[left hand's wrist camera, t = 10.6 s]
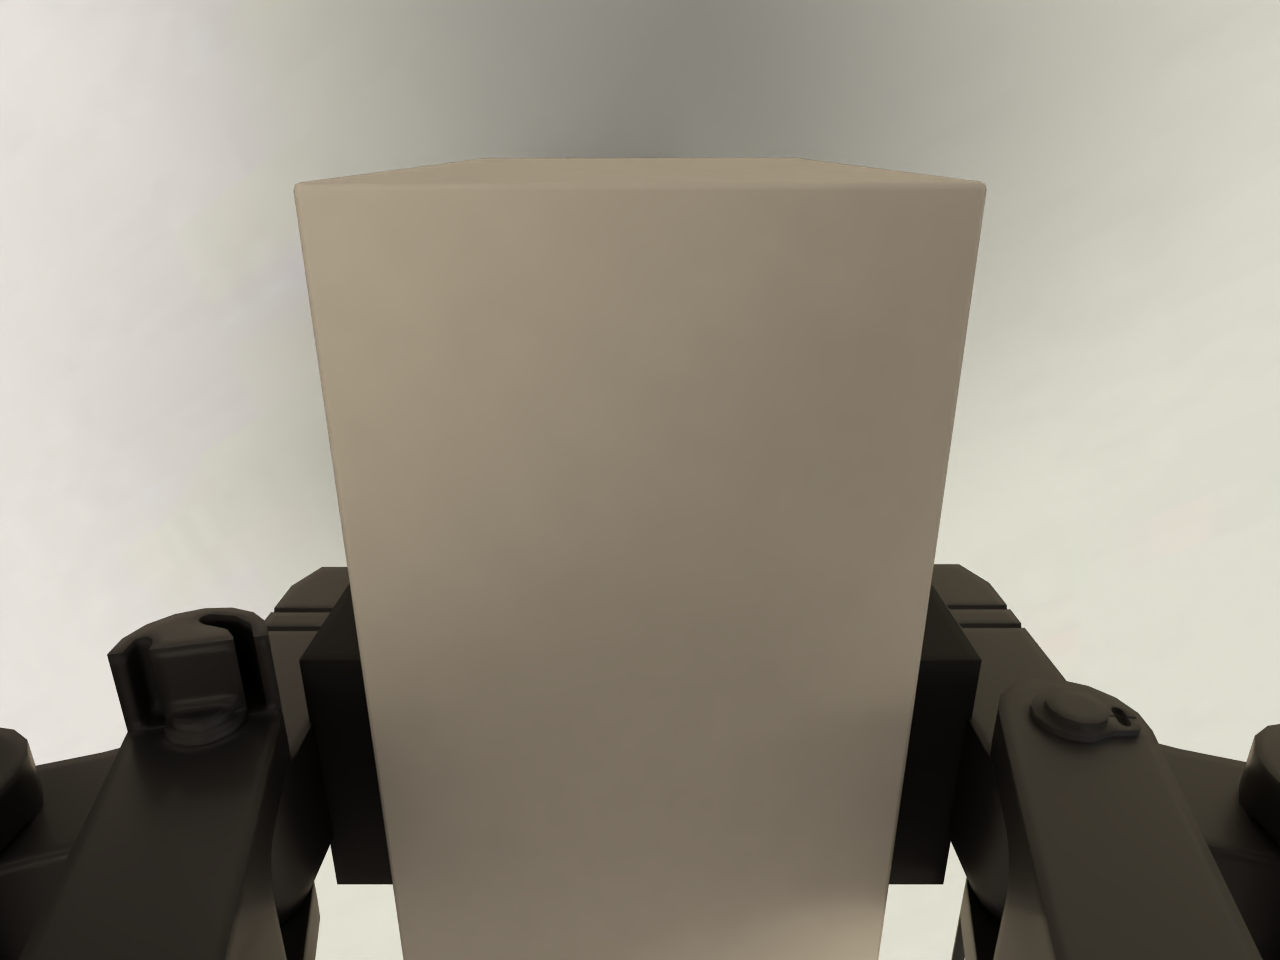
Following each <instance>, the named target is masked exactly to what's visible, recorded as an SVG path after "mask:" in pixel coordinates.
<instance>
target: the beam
mask: <svg viewBox="0 0 1280 960" xmlns="http://www.w3.org/2000/svg"><path fill="white" fill-rule="evenodd" d="M294 196H295V203H296V210H297V217H298V224H299V231H300V238H301V245H302V252H303V259H304V266H305V273H306V280H307V287H308V294H309V301H310V308H311V315H312V322H313V329H314V336H315V343H316V350H317V357H318V364H319V371H320V378H321V385H322V392H323V399H324V406H325V413H326V420H327V427H328V434H329V441H330V448H331V455H332V462H333V469H334V476H335V483H336V490H337V497H338V504H339V511H340V518H341V525H342V532H343V539H344V546H345V553H346V560H347V567H348V574H349V581H350V588H351V595H352V602H353V609H354V616H355V623H356V630H357V637H358V644H359V651H360V658H361V665H362V672H363V679H364V686H365V693H366V700H367V707H368V714H369V721H370V728H371V735H372V742H373V749H374V756H375V763H376V770H377V777H378V784H379V791H380V798H381V805H382V812H383V819H384V826H385V833H386V840H387V847H388V854H389V861H390V868H391V875H392V882H393V889H394V896H395V903H396V910H397V917H398V924H399V931H400V938H401V945H402V952H403V959H404V960H878V957H879V950H880V943H881V936H882V929H883V922H884V915H885V907H886V900H887V893H888V886H889V879H890V872H891V865H892V858H893V851H894V843H895V836H896V829H897V822H898V815H899V808H900V801H901V794H902V787H903V779H904V772H905V765H906V758H907V751H908V744H909V737H910V730H911V723H912V715H913V708H914V701H915V694H916V687H917V680H918V673H919V666H920V659H921V651H922V644H923V637H924V630H925V623H926V616H927V609H928V602H929V595H930V587H931V580H932V573H933V566H934V559H935V552H936V545H937V538H938V531H939V523H940V516H941V509H942V502H943V495H944V488H945V481H946V474H947V467H948V460H949V452H950V445H951V438H952V431H953V424H954V417H955V410H956V403H957V396H958V388H959V381H960V374H961V367H962V360H963V353H964V346H965V339H966V332H967V324H968V317H969V310H970V303H971V296H972V289H973V282H974V275H975V268H976V260H977V253H978V246H979V239H980V232H981V225H982V218H983V211H984V204H985V196H986V185H985V184H984V183H982V182H979V181H971V180H963V179H955V178H947V177H940V176H932V175H924V174H916V173H909V172H901V171H893V170H885V169H877V168H870V167H862V166H854V165H846V164H838V163H831V162H823V161H815V160H807V159H800V158H483V159H475V160H468V161H460V162H453V163H445V164H437V165H430V166H422V167H415V168H407V169H399V170H392V171H384V172H377V173H369V174H362V175H354V176H346V177H339V178H331V179H324V180H316V181H308V182H301V183H298V184H296V185H295V187H294Z"/></svg>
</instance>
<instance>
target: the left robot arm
mask: <svg viewBox="0 0 1280 960" xmlns="http://www.w3.org/2000/svg"><path fill="white" fill-rule="evenodd" d="M107 656H108V660H109V663H110V667H111V671H112V675H113V678H114V682H115V686H116V690H117V693H118V697H119V701H120V704H121V708H122V712H123V716H124V719H125V723H126V727H127V731H128V733H127V735H126V737H125V739H124V741H123V743H122V745H121V747H120V748H118V749H114V750H110V751H107V752H103V753H98V754H93V755H88V756H83V757H78V758H73V759H68V760H63V761H58V762H53V763H48V764H43V765H38V766H35V763H34V760H33V756H32V753H31V750H30V747H29V744H28V741H27V739H25V738H24V737H23V736H22V735H20V734H19V733H18V732H16V731H15V730H13V729H6V728H0V960H315V956H316V947H317V939H318V930H319V922H320V913H319V907H318V900H317V894H316V889H315V883H314V880H315V878H316V875H317V873H318V871H319V869H320V866H321V864H322V862H323V859H324V857H325V855H326V853H327V850H328V848H329V846H330V844H331V850H332V856H333V862H334V867H335V873H336V879H337V884H393V882H392V875H391V868H390V861H389V854H388V847H387V840H386V833H385V826H384V819H383V812H382V805H381V798H380V791H379V784H378V777H377V770H376V763H375V756H374V749H373V742H372V735H371V728H370V721H369V714H368V707H367V700H366V693H365V686H364V679H363V672H362V665H361V658H360V651H359V644H358V637H357V630H356V623H355V616H354V609H353V602H352V595H351V588H350V581H349V574H348V567H321V568H320V569H318V570H317V571H315V572H313V573H312V574H310V575H309V576H307V577H305V578H304V579H302V580H300V581H299V582H297V583H296V584H294V585H292V586H291V587H290V589H289V590H288V591H287V593H286V594H285V595H284V596H283V598H282V599H281V600H280V602H279V603H278V604H277V605H276V607H275V608H274V612H271V613H270V614H269V616H268V617H267V618H266V619H265V621H264V620H263V619H262V618H260V617H259V616H258V615H256V614H255V613H254V612H250V611H245V610H240V609H236V608H204V609H199V610H194V611H189V612H184V613H179V614H174V615H171V616H169V617H166V618H163V619H160V620H158V621H155V622H152V623H149V624H147V625H145V626H143V627H141V628H140V629H138V630H136V631H135V632H133V633H131V634H129V635H128V636H126V637H124V638H123V639H122V640H121V641H120V642H119V643H118V644H117V645H116V646H115V647H114V648H113V649H112V650H111V651H110V652H109V653H108V654H107ZM950 842H952V845H953V847H954V849H955V851H956V854H957V856H958V858H959V860H960V863H961V865H962V867H963V869H964V872H965V874H966V876H967V878H966V883H965V889H964V894H963V900H962V905H961V910H960V916H959V921H958V927H957V932H956V937H955V943H954V948H953V954H952V960H964V959H965V960H1280V724H1277V725H1270V726H1267V727H1266V728H1264V729H1263V730H1262V731H1261V732H1259V733H1258V734H1257V735H1255V737H1254V740H1253V743H1252V746H1251V750H1250V753H1249V756H1248V759H1247V762H1242V761H1237V760H1232V759H1227V758H1222V757H1217V756H1212V755H1207V754H1202V753H1197V752H1192V751H1187V750H1182V749H1177V748H1174V747H1170V746H1166V745H1162V744H1159V743H1158V741H1157V739H1156V737H1155V735H1154V733H1153V731H1152V730H1151V728H1150V727H1149V726H1148V725H1147V723H1146V722H1145V721H1144V720H1143V718H1142V717H1141V716H1140V715H1139V713H1137V712H1136V711H1134V710H1133V709H1131V708H1130V707H1129V706H1127V705H1126V704H1124V703H1123V702H1121V701H1120V700H1118V699H1117V698H1115V697H1113V696H1111V695H1108V694H1106V693H1103V692H1101V691H1099V690H1096V689H1094V688H1092V687H1089V686H1086V685H1081V684H1077V683H1072V682H1068V681H1066V680H1065V679H1064V677H1063V676H1062V675H1061V673H1060V672H1059V671H1058V670H1057V668H1056V667H1055V666H1054V665H1053V663H1052V662H1051V661H1050V659H1049V658H1048V657H1047V656H1046V654H1045V653H1044V652H1043V651H1042V649H1041V648H1040V647H1039V645H1038V644H1037V643H1036V642H1035V640H1034V639H1033V638H1032V637H1031V635H1030V634H1029V633H1028V631H1027V630H1026V629H1025V628H1021V623H1020V621H1019V620H1018V619H1017V618H1016V616H1015V615H1014V614H1013V612H1012V611H1011V610H1010V609H1007V605H1006V604H1005V602H1004V601H1003V600H1002V598H1001V597H1000V596H999V595H998V593H997V592H996V591H995V590H994V588H993V587H992V586H991V584H990V583H988V582H987V581H985V580H984V579H982V578H980V577H979V576H977V575H975V574H974V573H972V572H971V571H969V570H967V569H966V568H964V567H962V566H961V565H959V564H934V566H933V573H932V580H931V587H930V595H929V602H928V609H927V616H926V623H925V630H924V637H923V644H922V651H921V659H920V666H919V673H918V680H917V687H916V694H915V701H914V708H913V715H912V723H911V730H910V737H909V744H908V751H907V758H906V765H905V772H904V779H903V787H902V794H901V801H900V808H899V815H898V822H897V829H896V836H895V843H894V851H893V858H892V865H891V872H890V879H889V884H943V882H944V877H945V871H946V865H947V859H948V853H949V848H950Z"/></svg>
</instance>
